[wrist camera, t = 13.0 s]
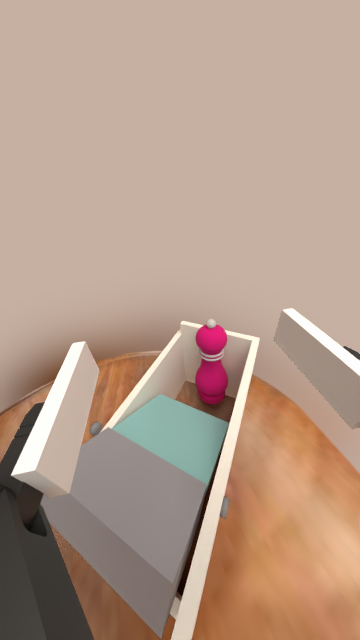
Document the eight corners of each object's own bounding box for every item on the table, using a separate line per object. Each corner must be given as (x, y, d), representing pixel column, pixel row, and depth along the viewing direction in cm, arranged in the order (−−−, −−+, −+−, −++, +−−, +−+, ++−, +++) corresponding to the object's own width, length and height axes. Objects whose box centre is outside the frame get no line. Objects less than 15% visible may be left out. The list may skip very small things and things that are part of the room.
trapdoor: (39, 511, 18) (44, 471, 18) (157, 410, 38) (160, 390, 38) (161, 639, 13) (172, 584, 12) (224, 442, 33) (229, 419, 32)
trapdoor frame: (91, 530, 31) (23, 497, 19) (181, 375, 55) (175, 319, 43) (199, 631, 23) (193, 676, 11) (248, 399, 47) (263, 338, 35)
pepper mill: (204, 377, 48) (201, 307, 38) (231, 387, 45) (237, 314, 35) (190, 398, 43) (183, 325, 33) (220, 412, 40) (223, 334, 30)
